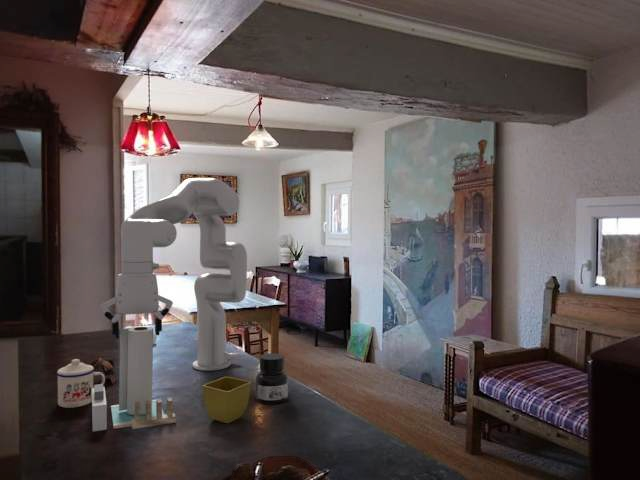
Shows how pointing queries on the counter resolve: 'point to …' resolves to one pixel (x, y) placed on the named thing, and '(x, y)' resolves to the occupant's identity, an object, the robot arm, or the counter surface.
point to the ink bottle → (271, 379)
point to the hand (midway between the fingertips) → (137, 335)
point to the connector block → (99, 408)
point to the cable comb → (153, 420)
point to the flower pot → (226, 398)
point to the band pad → (127, 416)
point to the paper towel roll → (135, 368)
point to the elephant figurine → (154, 338)
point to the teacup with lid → (76, 384)
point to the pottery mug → (104, 367)
